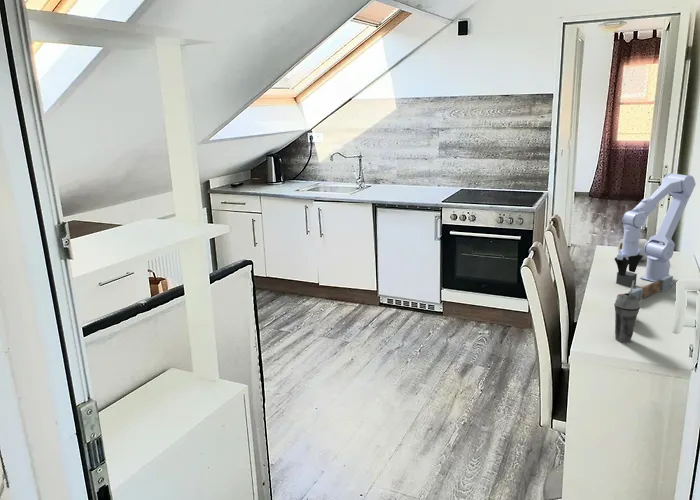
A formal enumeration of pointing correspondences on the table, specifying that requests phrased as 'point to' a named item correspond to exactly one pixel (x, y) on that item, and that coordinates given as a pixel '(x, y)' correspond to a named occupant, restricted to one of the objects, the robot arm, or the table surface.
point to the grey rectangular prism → (626, 279)
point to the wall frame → (665, 284)
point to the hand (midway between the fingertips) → (626, 273)
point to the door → (651, 288)
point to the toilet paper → (640, 246)
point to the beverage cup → (625, 316)
